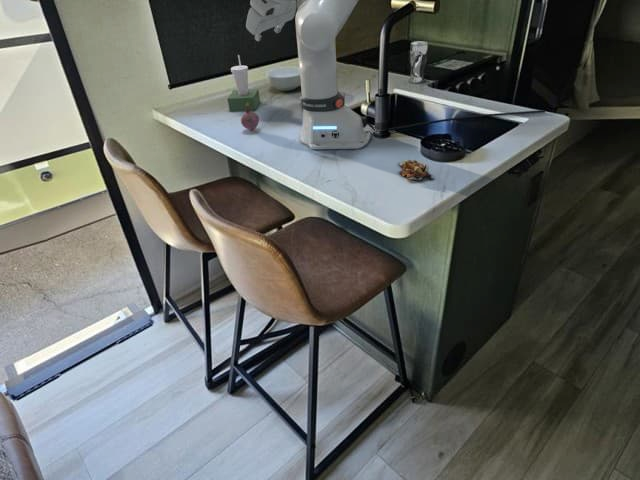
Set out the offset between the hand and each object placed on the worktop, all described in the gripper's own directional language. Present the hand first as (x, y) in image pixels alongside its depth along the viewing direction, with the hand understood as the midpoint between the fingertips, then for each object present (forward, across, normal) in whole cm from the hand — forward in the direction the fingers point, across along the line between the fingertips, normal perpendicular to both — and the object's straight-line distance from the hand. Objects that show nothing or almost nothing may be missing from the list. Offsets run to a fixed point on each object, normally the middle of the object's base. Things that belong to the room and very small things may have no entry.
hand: (267, 35), depth 151 cm
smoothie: (+24, +7, +1) cm, 25 cm away
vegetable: (+15, +23, +21) cm, 34 cm away
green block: (+28, +8, +4) cm, 29 cm away
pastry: (-18, +18, +72) cm, 76 cm away
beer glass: (+10, -53, +40) cm, 67 cm away
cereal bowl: (+31, -18, +3) cm, 36 cm away
